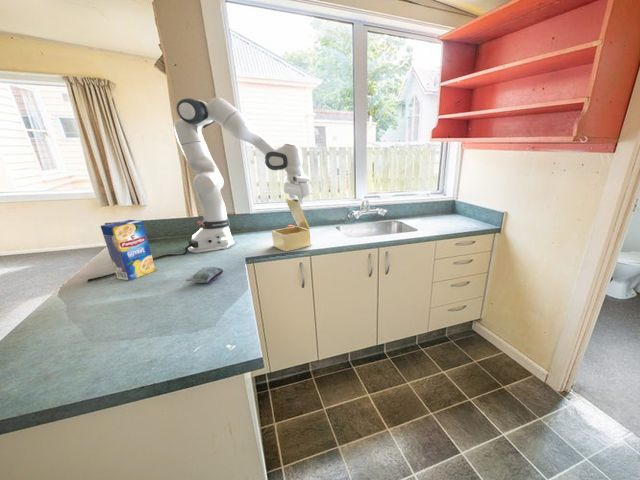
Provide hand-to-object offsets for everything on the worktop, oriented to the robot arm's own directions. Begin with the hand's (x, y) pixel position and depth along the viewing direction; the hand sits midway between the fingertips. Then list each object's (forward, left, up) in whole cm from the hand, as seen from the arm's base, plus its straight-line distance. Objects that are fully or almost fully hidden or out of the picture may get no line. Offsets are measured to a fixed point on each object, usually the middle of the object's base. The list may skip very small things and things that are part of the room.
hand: (296, 203), depth 159 cm
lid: (0, 0, -6) cm, 6 cm away
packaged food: (-53, -17, -23) cm, 60 cm away
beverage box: (-72, +9, -23) cm, 76 cm away
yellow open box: (-5, 0, -23) cm, 24 cm away
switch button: (+7, +22, -19) cm, 30 cm away
